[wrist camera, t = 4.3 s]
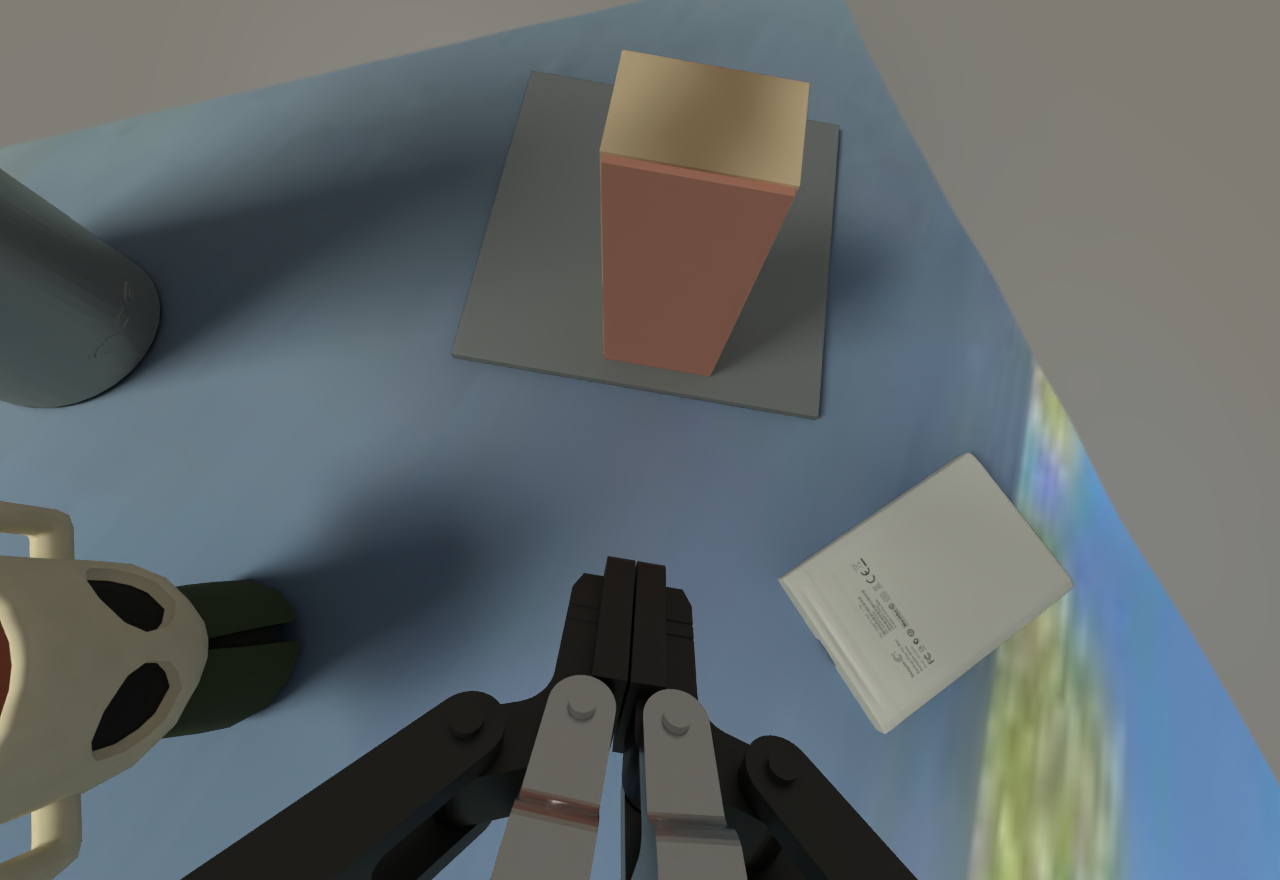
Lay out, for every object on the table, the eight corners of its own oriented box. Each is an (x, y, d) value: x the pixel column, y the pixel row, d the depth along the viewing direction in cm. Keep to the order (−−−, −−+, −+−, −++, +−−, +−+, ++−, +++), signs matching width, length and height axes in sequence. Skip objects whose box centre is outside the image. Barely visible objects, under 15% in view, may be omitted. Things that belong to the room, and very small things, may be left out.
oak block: (602, 358, 29) (597, 158, 16) (616, 289, 30) (622, 49, 17) (711, 377, 29) (798, 194, 16) (720, 308, 30) (809, 82, 17)
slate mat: (453, 357, 29) (450, 353, 29) (532, 77, 35) (531, 70, 34) (815, 419, 29) (818, 416, 29) (836, 131, 35) (839, 125, 35)
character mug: (332, 750, 24) (31, 923, 11) (160, 806, 23) (-373, 1060, 10) (300, 514, 27) (28, 445, 14) (144, 556, 26) (-294, 521, 13)
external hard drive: (1052, 587, 28) (871, 728, 26) (952, 457, 30) (773, 579, 28) (1078, 587, 27) (888, 737, 24) (971, 450, 28) (783, 577, 26)
